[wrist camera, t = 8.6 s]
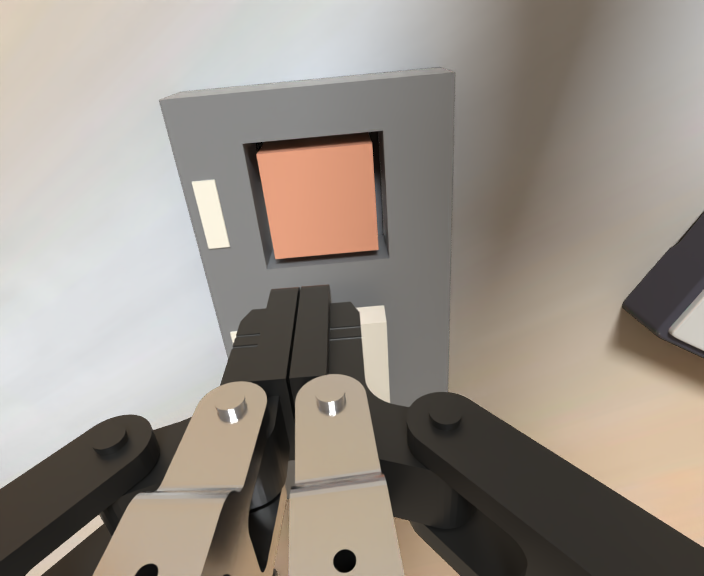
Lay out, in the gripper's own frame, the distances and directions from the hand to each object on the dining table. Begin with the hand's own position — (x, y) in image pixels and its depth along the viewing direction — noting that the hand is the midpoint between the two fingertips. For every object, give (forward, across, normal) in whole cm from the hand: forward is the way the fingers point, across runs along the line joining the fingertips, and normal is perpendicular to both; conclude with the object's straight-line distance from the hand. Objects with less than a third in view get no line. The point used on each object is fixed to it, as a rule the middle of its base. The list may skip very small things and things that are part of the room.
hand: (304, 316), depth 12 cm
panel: (+13, 0, +9) cm, 15 cm away
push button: (+13, 0, +1) cm, 13 cm away
